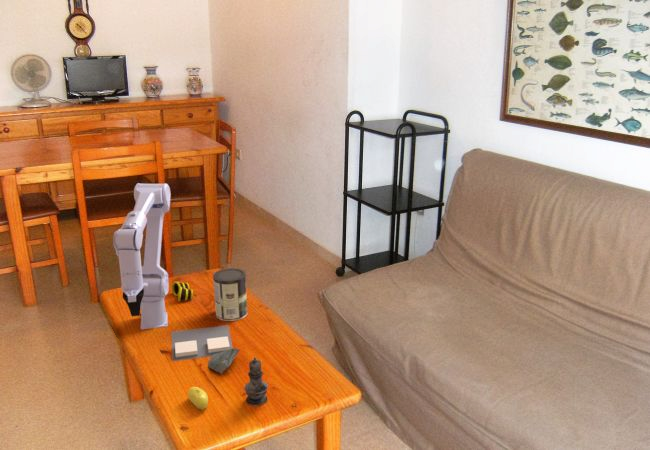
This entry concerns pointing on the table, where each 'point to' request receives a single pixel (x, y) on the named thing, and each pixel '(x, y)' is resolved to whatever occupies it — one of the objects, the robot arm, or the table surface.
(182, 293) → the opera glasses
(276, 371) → the table surface
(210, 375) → the table surface
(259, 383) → the dark chess piece
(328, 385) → the table surface
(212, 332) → the mat
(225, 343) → the tile
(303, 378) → the table surface
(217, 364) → the stone
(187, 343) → the tile
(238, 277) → the coffee can
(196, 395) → the lemon
